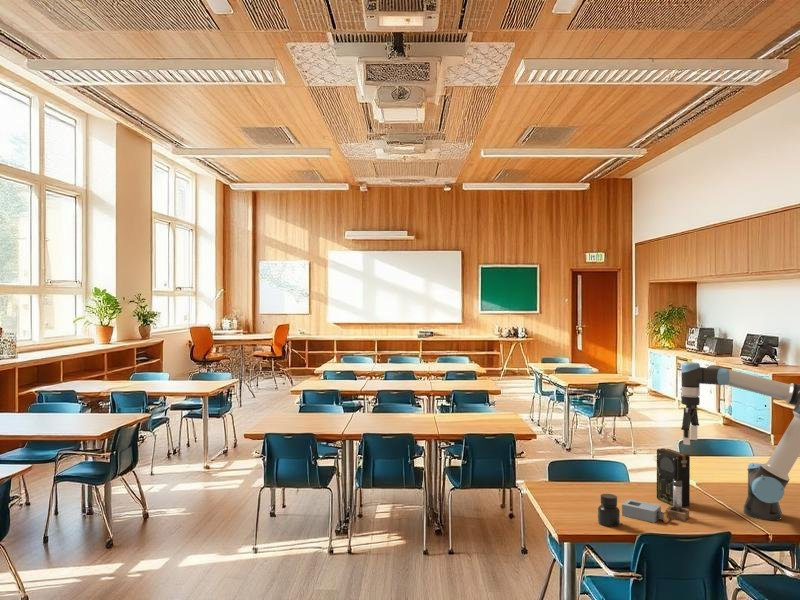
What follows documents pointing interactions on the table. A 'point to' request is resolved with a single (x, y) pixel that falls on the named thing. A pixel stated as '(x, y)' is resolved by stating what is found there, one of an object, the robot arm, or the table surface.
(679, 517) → the rack
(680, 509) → the drill peg
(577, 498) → the table surface
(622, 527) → the table surface
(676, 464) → the black hard drive
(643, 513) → the socket block
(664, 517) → the drift key
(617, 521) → the ink bottle
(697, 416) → the robot arm
